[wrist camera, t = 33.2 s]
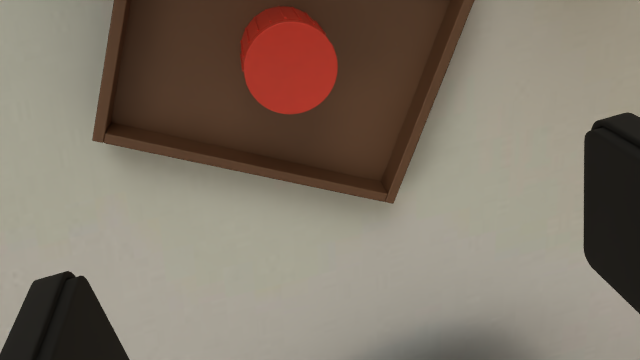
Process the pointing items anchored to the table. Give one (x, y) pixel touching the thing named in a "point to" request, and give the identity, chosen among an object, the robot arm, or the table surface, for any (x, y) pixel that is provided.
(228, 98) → the tray
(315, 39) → the cap
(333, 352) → the table surface
